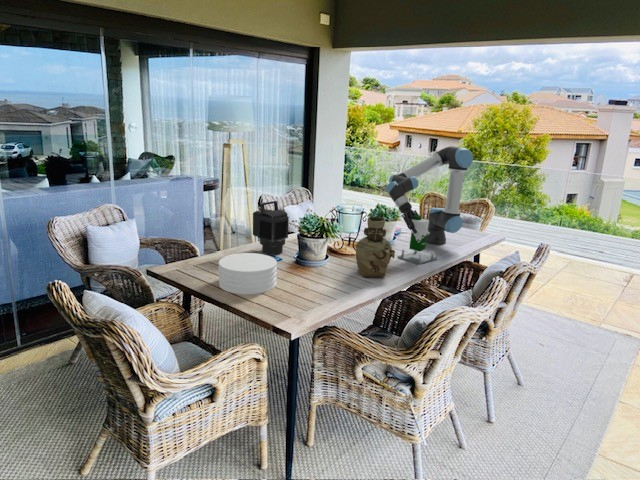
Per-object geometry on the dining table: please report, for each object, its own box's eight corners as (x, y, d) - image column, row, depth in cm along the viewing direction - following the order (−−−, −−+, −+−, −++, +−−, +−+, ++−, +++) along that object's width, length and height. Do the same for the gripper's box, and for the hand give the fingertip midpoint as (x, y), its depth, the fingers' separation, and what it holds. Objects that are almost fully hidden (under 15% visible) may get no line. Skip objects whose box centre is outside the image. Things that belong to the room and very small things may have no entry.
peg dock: (416, 252, 300) (416, 245, 299) (437, 259, 289) (438, 251, 287) (397, 257, 289) (398, 249, 287) (418, 264, 277) (419, 256, 276)
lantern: (273, 257, 278) (274, 206, 270) (251, 250, 288) (251, 201, 280) (290, 251, 290) (291, 203, 281) (268, 245, 300) (269, 198, 292)
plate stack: (249, 270, 256) (249, 249, 252) (288, 284, 239) (288, 262, 236) (207, 283, 235) (206, 261, 231) (245, 299, 218) (245, 275, 215)
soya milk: (413, 246, 293) (417, 214, 287) (427, 249, 288) (431, 216, 282) (407, 248, 286) (410, 216, 281) (421, 252, 281) (424, 219, 275)
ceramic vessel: (384, 282, 247) (389, 226, 239) (348, 274, 257) (351, 219, 248) (397, 272, 263) (403, 219, 255) (363, 264, 273) (366, 213, 264)
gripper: (408, 206, 298) (428, 236, 293) (389, 210, 282) (410, 242, 277) (416, 199, 294) (437, 229, 288) (398, 203, 278) (419, 235, 272)
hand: (423, 236), depth 282 cm, fingers closed on soya milk, 9 cm apart
